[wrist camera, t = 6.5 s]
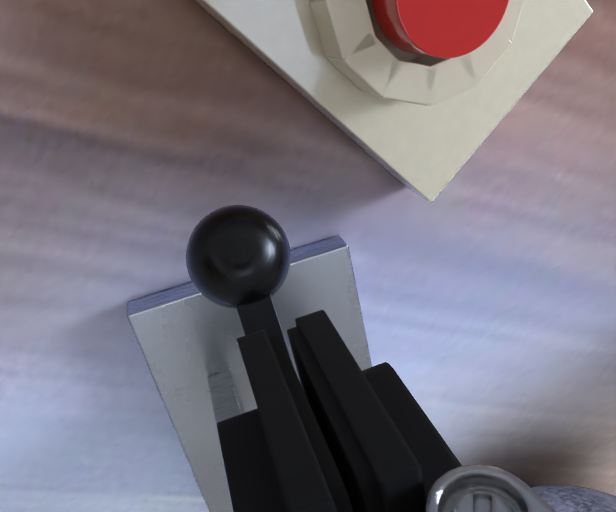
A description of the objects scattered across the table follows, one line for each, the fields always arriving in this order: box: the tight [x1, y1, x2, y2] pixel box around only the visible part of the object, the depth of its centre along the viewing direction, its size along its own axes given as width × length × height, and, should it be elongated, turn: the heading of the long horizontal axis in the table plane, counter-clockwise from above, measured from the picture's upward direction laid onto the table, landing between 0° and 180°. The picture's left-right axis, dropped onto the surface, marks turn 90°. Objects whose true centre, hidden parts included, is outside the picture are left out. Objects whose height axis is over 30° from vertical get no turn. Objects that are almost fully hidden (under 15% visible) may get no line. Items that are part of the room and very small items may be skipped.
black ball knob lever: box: [186, 205, 297, 374], centre depth 17 cm, size 13×3×3 cm, turn 12°
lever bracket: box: [127, 236, 372, 512], centre depth 20 cm, size 12×9×12 cm
